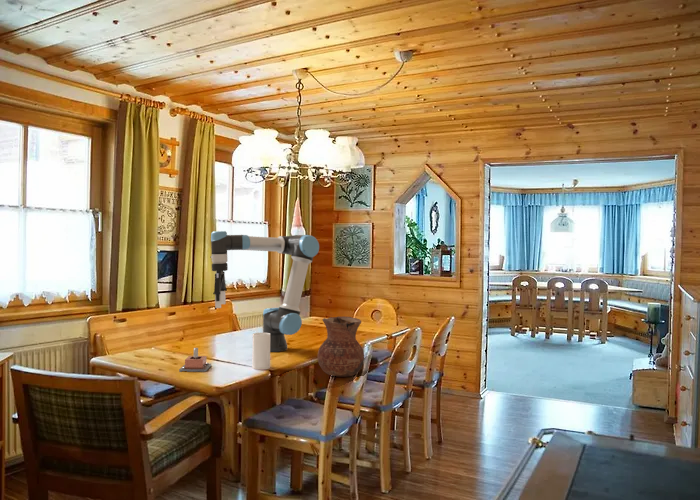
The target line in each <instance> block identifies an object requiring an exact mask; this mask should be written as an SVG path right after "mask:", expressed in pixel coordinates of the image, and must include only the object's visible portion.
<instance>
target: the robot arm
mask: <svg viewBox="0 0 700 500" xmlns="http://www.w3.org/2000/svg"><path fill="white" fill-rule="evenodd" d="M210 235H211V236H210V244H211V246H210V247H211V248H210V249H211V250H210V251H211V256H210V258H211V262H212V263H211V271H212V272H216V273H214V289H213V290H214V291H213V292H212V295H214V306H215V307H214V308H215V309H221V308H222V305H226V299H227V298H226V292H228V291H227V290H228V289H227V287H226V286H227V285H226V277H225V272H226V271H228V270H229V268H228V263H227V262H229V261H228V251H253V252H254V251H256V252H257V251H258V252H259V251H260V252H277V254H284V255H290V257H291V259H292V265H291V267H290V268H291V269H290V272H289V275H288V276H289V278H288V281H287V284H286V290H285V294H284V298H283V301H282V304H280V305H279V307H268V308H264V309H263V313H262V333H270V353H275V352H277V353H279V352H284V351H287V350H288V343H287V339H286V336H285V335H290V336H291V335H295V334H297V333H298V332H299V331H300V329H301V326H302V323H303V320H302V317H301V316H300V315H301V309H300V307H299V306H300V303H301V298H302V293H303V291H304V285H305V281H306V277H307V273H308V268H309V265H310V264H311V263H313V260H314V257H315V256H316V255H318V254H319V250H320V243H319V241H318V239H317V238H316V237H315V236H313V235H310V234H294V235H293V234H292V235H286V236H285V235H279V236H278V237H267V236H253V235H251V236H250V235H248V234H228V232H227V231H226V230H224V231H222V230H221V231H219V230H218V231H212V232H211V234H210Z"/></svg>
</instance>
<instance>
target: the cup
mask: <svg viewBox="0 0 700 500" xmlns="http://www.w3.org/2000/svg"><path fill="white" fill-rule="evenodd" d="M251 364H252V365H251V368H252V369H253V370H257V371H260V370H269V369H270V368H271V352H270V333H263V332H255V333H252V363H251Z"/></svg>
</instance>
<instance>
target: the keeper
mask: <svg viewBox="0 0 700 500" xmlns="http://www.w3.org/2000/svg"><path fill="white" fill-rule="evenodd" d="M193 356H194V359H198V356H199V347H193ZM211 367H212V363H209V362H206V365H205V366H204V368H185V364H184V365H182V366H181V367H180V368H179V369H178V370H179V373H180V372H181V373H182V371H187V372H189V373H191V372H193V373H196V372H197V373H200V372H203V373H204V372H207V371H208V370H209V369H210V368H211ZM187 372H186V373H187Z"/></svg>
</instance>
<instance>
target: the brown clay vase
mask: <svg viewBox="0 0 700 500" xmlns="http://www.w3.org/2000/svg"><path fill="white" fill-rule="evenodd" d="M322 322H323V323H324V325H325V328H326V333H327V335H326V336H327V337H326V339H325V340H324V341H323V342H322V344H321V345H320V347H319V348H318V351H317V362H318V365H319V367H320V368H321V370H322V371H323V372H324V373H325V374H326V375H329V376H332V375H333V376H332V377H335V376H336V377H340V378H346V377H348V378H349V377H353V376H355V375H357V374H358V372H359V371H360V370H361V369H362V367H363V364H364V360H365V352H364V349H363V347H362V345H361V344H360V343H359V340H357V337H356V334H357V331H358V329H359V327H360V325H361V324H362V320H361V319H360V318H357V317H351V316H336V317H335V316H334V317H328V318H327V317H324V318H323V319H322Z"/></svg>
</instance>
